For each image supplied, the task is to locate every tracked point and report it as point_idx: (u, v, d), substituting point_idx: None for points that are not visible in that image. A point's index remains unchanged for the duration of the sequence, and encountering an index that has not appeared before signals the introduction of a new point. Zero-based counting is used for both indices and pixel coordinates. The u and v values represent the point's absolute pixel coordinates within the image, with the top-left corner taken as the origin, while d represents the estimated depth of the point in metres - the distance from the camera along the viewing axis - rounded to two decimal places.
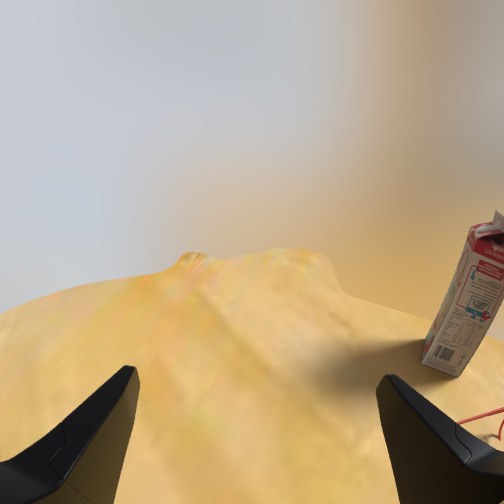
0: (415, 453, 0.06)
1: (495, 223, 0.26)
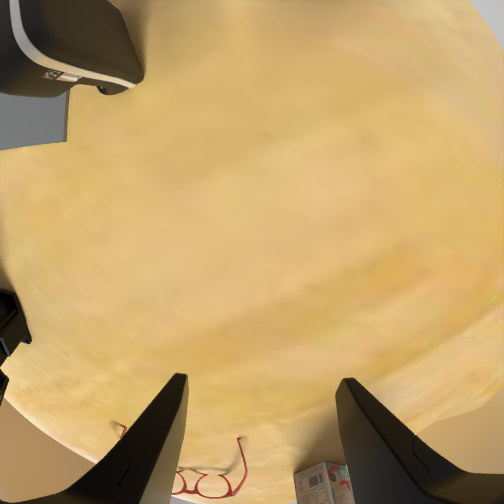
0: (369, 465, 0.06)
1: None
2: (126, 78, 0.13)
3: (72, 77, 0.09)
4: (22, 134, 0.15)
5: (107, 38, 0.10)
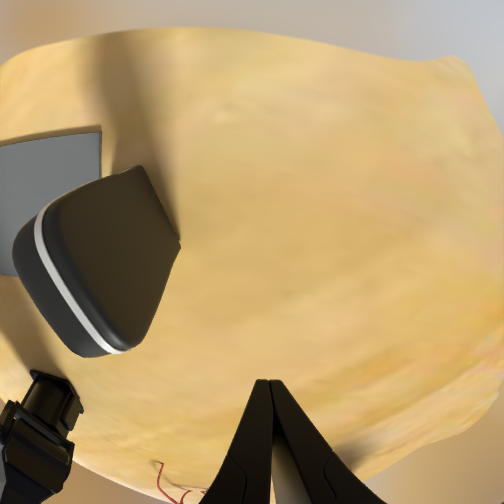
0: (283, 477, 0.06)
1: None
2: None
3: None
4: None
5: (152, 251, 0.15)
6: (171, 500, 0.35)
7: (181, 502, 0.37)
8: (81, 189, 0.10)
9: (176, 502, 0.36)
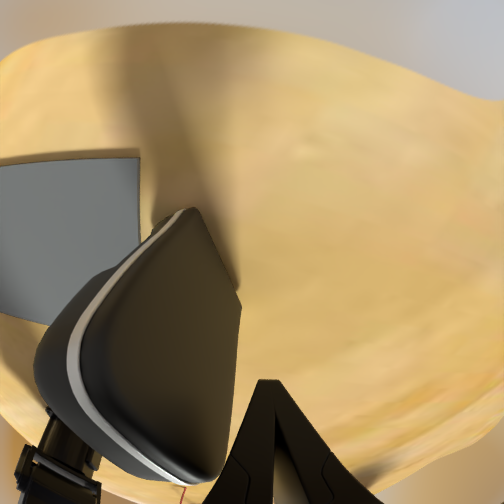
0: (281, 477, 0.06)
1: None
2: None
3: None
4: None
5: (220, 334, 0.12)
6: None
7: None
8: (131, 289, 0.07)
9: None
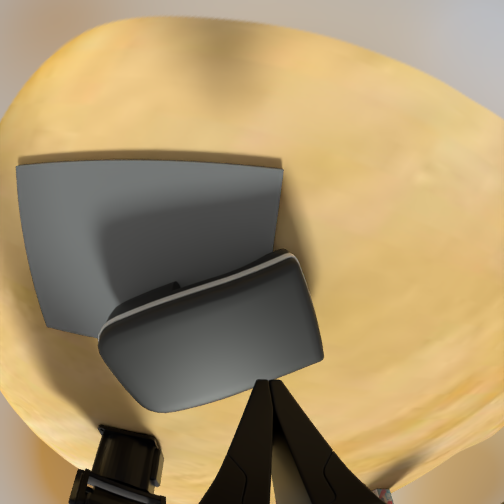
0: (283, 477, 0.06)
1: None
2: None
3: None
4: None
5: (234, 370, 0.14)
6: None
7: None
8: (132, 323, 0.12)
9: None
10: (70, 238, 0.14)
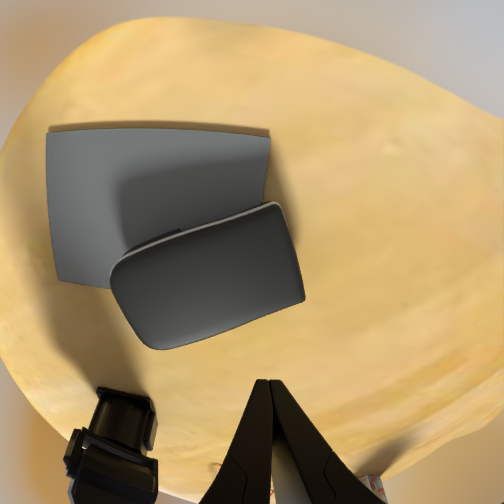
0: (283, 477, 0.06)
1: None
2: None
3: None
4: None
5: (226, 303, 0.17)
6: None
7: None
8: (142, 255, 0.15)
9: None
10: (91, 193, 0.17)
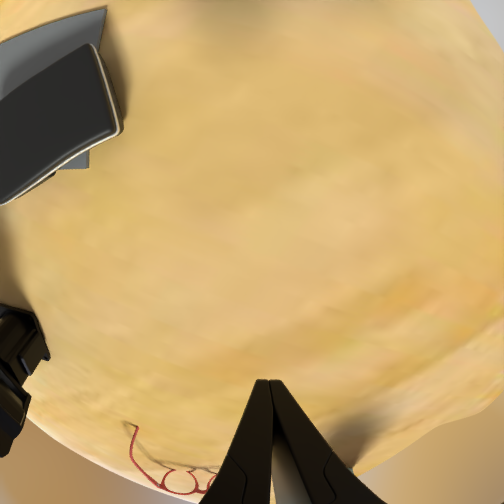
0: (283, 477, 0.06)
1: None
2: (84, 148, 0.14)
3: None
4: None
5: (39, 140, 0.12)
6: (149, 479, 0.30)
7: (162, 483, 0.33)
8: None
9: (156, 482, 0.32)
10: None
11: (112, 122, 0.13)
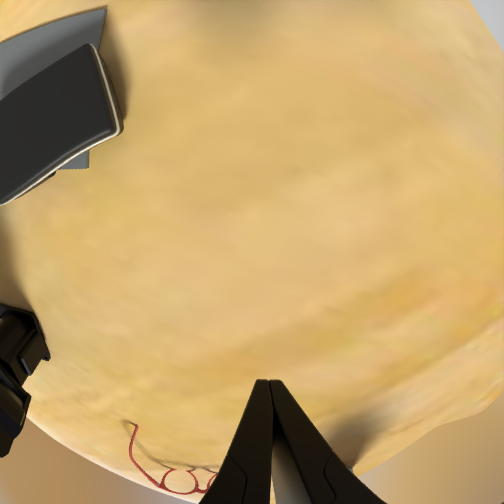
0: (283, 477, 0.06)
1: None
2: (84, 148, 0.14)
3: None
4: None
5: (39, 140, 0.12)
6: (149, 478, 0.30)
7: (162, 483, 0.33)
8: None
9: (156, 482, 0.32)
10: None
11: (112, 122, 0.13)
